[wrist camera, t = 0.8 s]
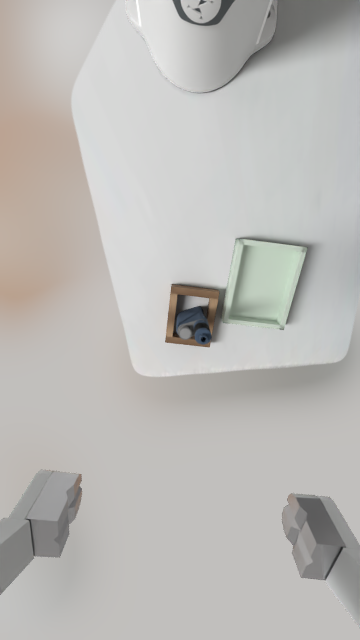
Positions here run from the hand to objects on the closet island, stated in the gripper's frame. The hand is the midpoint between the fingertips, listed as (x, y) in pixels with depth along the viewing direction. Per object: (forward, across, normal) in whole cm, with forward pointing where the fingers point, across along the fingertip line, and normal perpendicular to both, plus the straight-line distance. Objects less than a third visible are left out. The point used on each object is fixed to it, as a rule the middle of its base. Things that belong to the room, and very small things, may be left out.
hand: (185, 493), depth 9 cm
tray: (+34, -13, -4) cm, 37 cm away
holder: (+34, -2, +3) cm, 34 cm away
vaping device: (+35, -2, +3) cm, 35 cm away
